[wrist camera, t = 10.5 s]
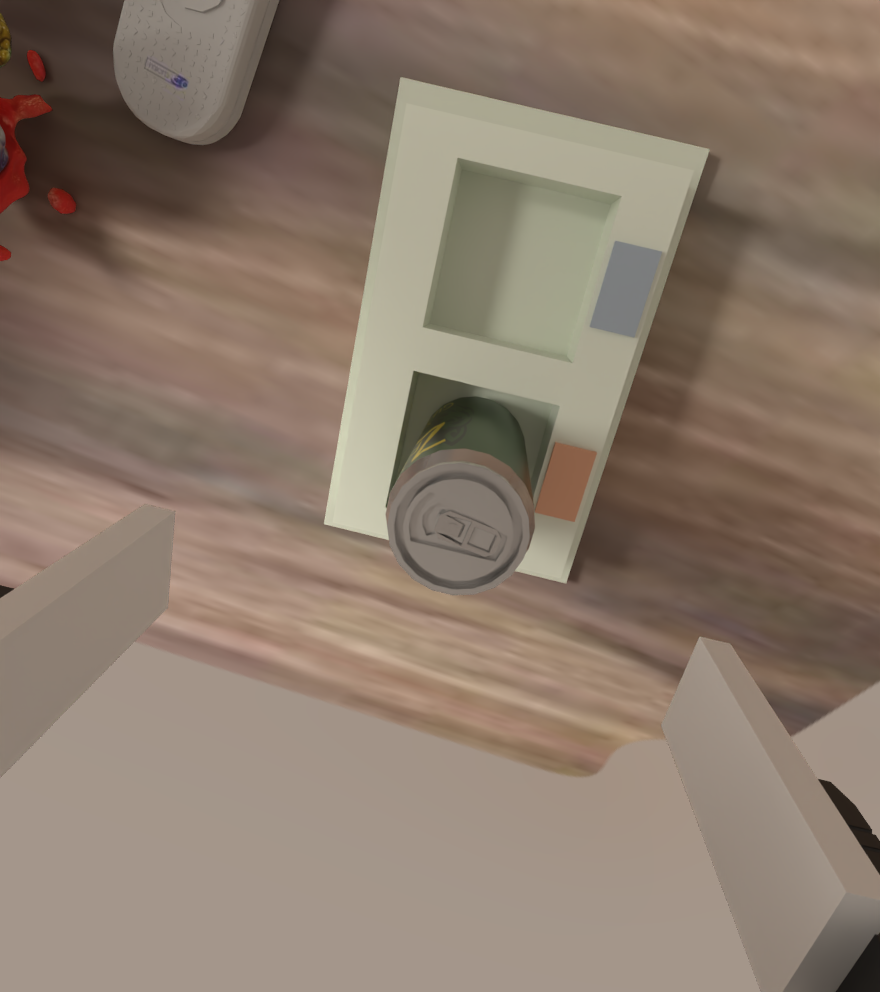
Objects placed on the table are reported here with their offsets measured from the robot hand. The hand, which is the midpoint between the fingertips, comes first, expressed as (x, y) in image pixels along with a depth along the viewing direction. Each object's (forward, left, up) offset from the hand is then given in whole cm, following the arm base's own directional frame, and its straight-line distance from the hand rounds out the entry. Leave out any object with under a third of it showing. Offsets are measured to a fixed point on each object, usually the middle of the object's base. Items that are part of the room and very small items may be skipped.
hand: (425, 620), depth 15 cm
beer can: (0, 0, -19) cm, 19 cm away
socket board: (0, +4, -19) cm, 19 cm away
